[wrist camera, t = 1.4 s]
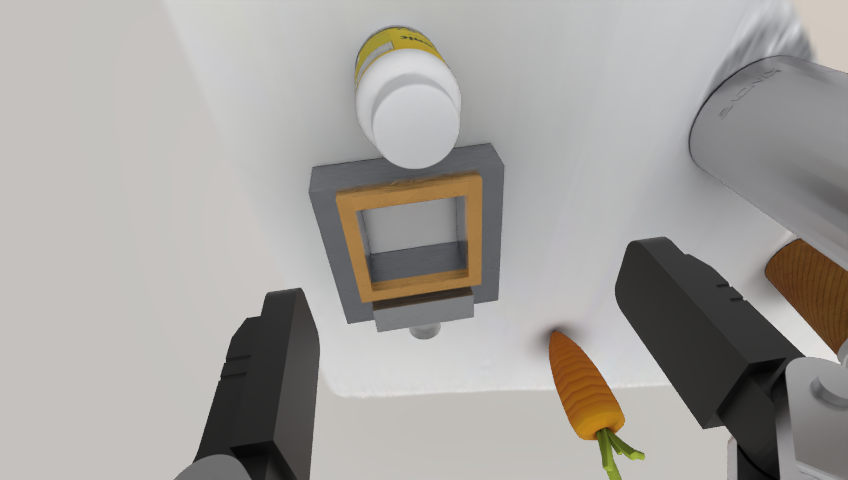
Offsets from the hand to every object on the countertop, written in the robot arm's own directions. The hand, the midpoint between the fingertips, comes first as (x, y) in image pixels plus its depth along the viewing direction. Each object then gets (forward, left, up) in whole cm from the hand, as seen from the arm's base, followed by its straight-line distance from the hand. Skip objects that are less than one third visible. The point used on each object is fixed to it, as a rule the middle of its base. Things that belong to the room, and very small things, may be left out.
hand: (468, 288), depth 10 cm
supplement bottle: (0, 0, -20) cm, 20 cm away
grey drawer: (-10, +11, -20) cm, 25 cm away
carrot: (-31, +11, -20) cm, 38 cm away
